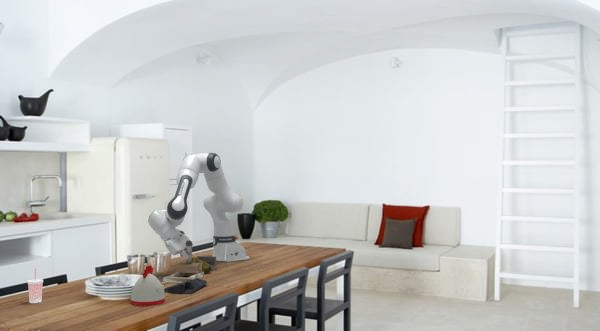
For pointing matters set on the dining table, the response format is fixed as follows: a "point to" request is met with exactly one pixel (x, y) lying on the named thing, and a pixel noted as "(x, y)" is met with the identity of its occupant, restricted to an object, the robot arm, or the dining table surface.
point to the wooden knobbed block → (189, 263)
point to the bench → (178, 276)
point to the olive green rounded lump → (205, 266)
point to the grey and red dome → (147, 290)
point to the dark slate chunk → (186, 287)
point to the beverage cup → (35, 289)
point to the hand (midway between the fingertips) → (190, 257)
